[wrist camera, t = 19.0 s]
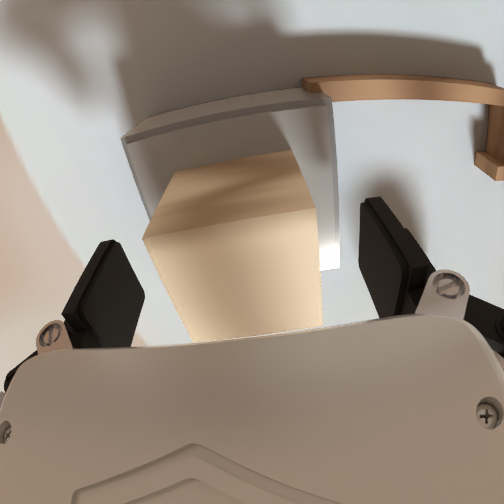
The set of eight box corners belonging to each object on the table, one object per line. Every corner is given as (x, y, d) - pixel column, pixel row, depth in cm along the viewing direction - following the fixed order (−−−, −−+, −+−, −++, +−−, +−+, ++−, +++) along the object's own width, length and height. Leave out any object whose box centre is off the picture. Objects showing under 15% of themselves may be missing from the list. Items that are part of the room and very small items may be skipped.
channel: (514, -30, 6) (537, -30, 4) (520, 164, 16) (540, 178, 14) (268, -81, 8) (272, -99, 6) (313, 179, 18) (322, 198, 16)
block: (291, 149, 12) (316, 207, 8) (303, 246, 15) (322, 325, 11) (174, 172, 13) (142, 238, 9) (205, 262, 16) (193, 342, 12)
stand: (312, 86, 14) (333, 98, 11) (324, 227, 20) (340, 271, 16) (146, 118, 15) (118, 140, 12) (188, 248, 20) (178, 294, 17)
